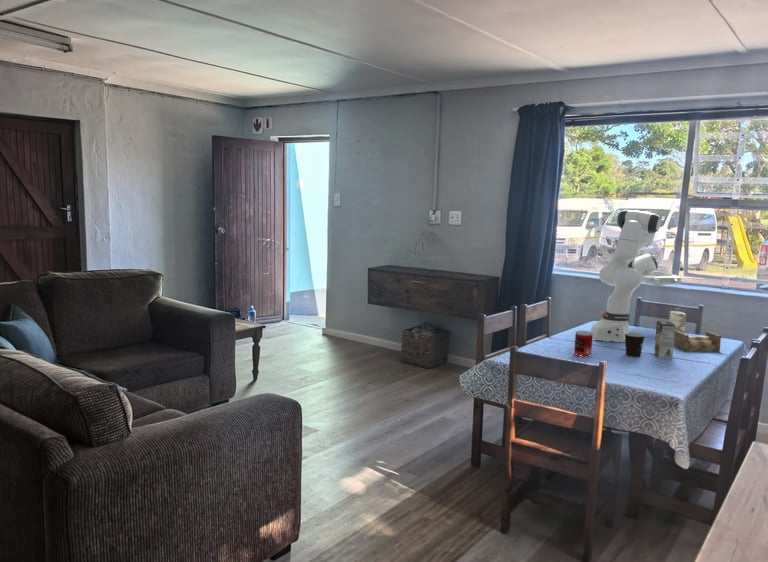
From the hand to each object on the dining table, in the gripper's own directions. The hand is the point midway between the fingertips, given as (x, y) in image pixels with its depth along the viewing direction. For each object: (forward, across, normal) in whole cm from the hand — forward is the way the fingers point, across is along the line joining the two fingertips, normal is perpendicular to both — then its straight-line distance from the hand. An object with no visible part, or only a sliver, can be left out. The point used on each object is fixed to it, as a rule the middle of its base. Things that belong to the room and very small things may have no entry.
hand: (668, 281), depth 318 cm
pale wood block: (+13, 0, +30) cm, 33 cm away
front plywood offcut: (+36, 0, +30) cm, 47 cm away
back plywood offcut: (+33, 0, +30) cm, 45 cm away
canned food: (+49, -63, +30) cm, 85 cm away
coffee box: (+48, -24, +30) cm, 62 cm away
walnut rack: (+33, 0, +30) cm, 45 cm away
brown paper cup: (+47, -37, +30) cm, 67 cm away
